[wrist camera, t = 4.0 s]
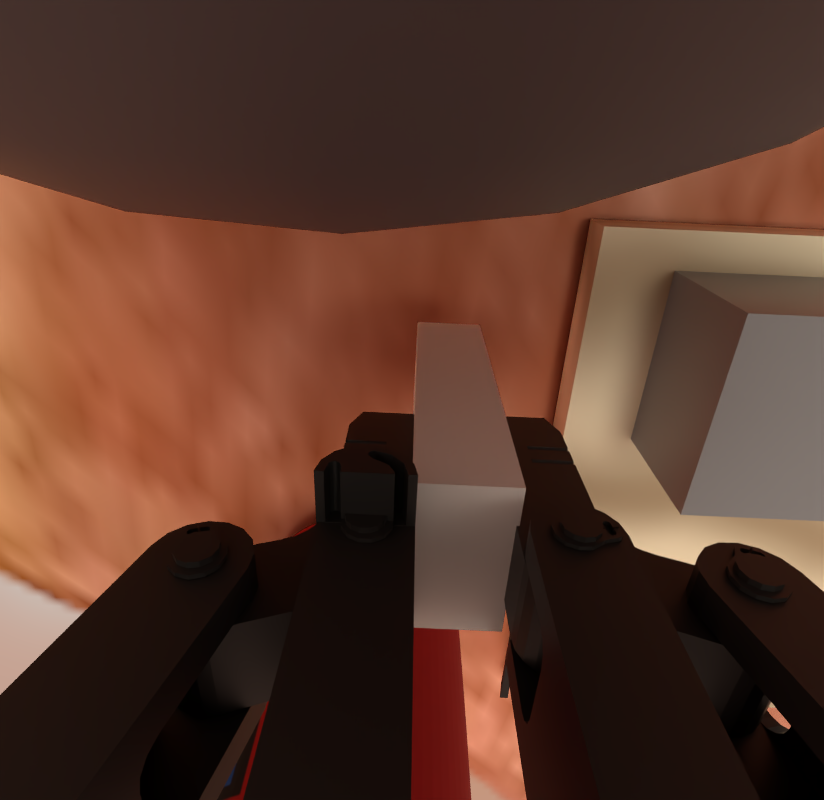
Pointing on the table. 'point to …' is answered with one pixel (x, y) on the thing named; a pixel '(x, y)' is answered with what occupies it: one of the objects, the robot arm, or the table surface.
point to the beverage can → (413, 723)
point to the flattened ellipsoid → (395, 102)
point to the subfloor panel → (628, 368)
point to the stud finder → (738, 397)
